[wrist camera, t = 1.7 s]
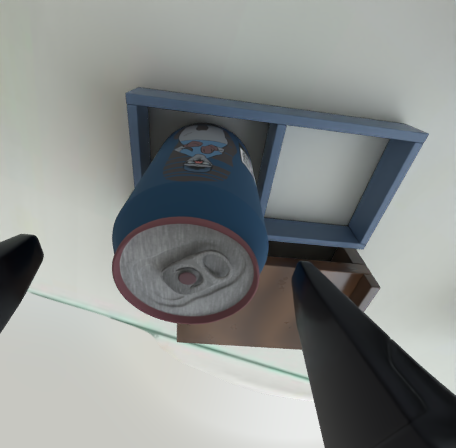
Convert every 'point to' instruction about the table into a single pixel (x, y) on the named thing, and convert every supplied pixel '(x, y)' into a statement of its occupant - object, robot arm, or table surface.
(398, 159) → the blue rack
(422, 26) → the table surface
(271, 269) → the shelf
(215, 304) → the soda can
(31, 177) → the table surface
